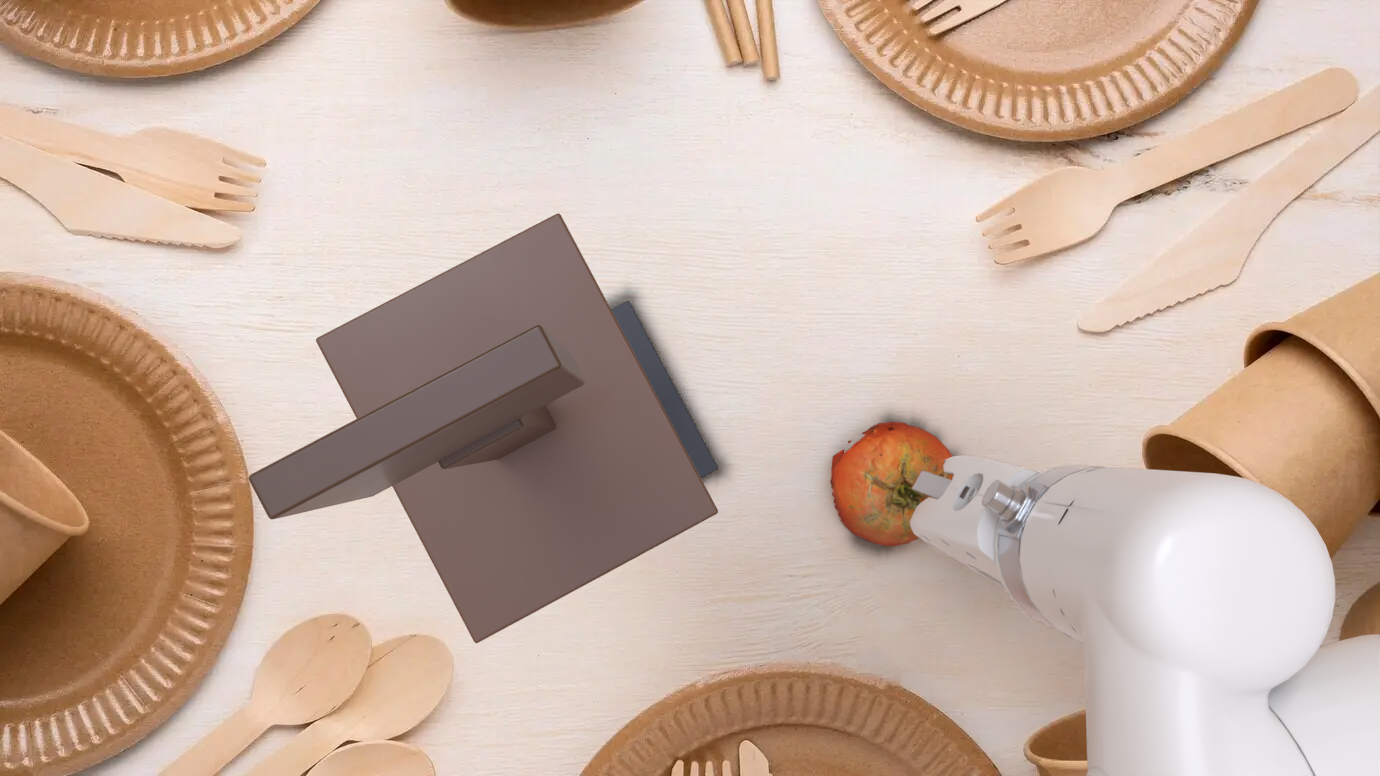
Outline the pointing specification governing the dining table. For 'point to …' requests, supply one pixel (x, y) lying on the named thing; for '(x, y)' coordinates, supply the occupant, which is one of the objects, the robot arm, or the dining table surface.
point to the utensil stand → (507, 429)
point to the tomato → (884, 480)
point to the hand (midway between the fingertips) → (965, 519)
